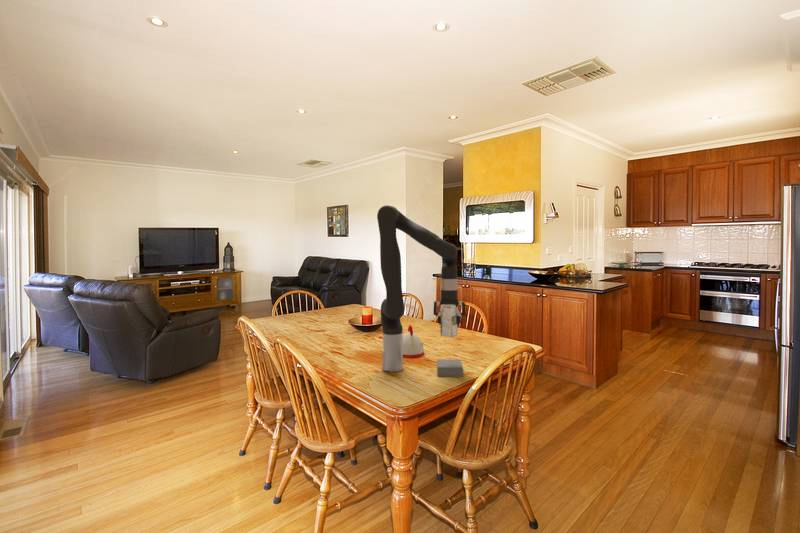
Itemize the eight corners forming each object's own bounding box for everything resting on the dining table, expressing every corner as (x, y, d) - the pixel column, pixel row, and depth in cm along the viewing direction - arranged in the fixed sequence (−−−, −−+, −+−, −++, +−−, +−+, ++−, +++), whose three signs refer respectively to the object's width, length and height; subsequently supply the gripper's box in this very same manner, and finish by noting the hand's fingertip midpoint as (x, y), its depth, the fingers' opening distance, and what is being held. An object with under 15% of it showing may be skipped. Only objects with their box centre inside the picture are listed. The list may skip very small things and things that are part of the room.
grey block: (437, 376, 172) (437, 367, 172) (437, 367, 183) (437, 359, 183) (462, 376, 171) (462, 367, 171) (460, 367, 182) (460, 359, 182)
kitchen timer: (400, 359, 196) (399, 329, 195) (395, 351, 210) (394, 323, 208) (426, 356, 199) (426, 328, 198) (420, 349, 213) (419, 322, 211)
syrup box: (446, 333, 180) (446, 302, 179) (458, 335, 176) (458, 303, 175) (440, 335, 175) (440, 304, 174) (451, 337, 172) (451, 305, 170)
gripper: (433, 289, 171) (433, 326, 172) (466, 289, 170) (466, 326, 171) (433, 287, 178) (433, 322, 180) (464, 287, 177) (464, 322, 179)
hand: (449, 324), depth 175 cm, fingers closed on syrup box, 8 cm apart
